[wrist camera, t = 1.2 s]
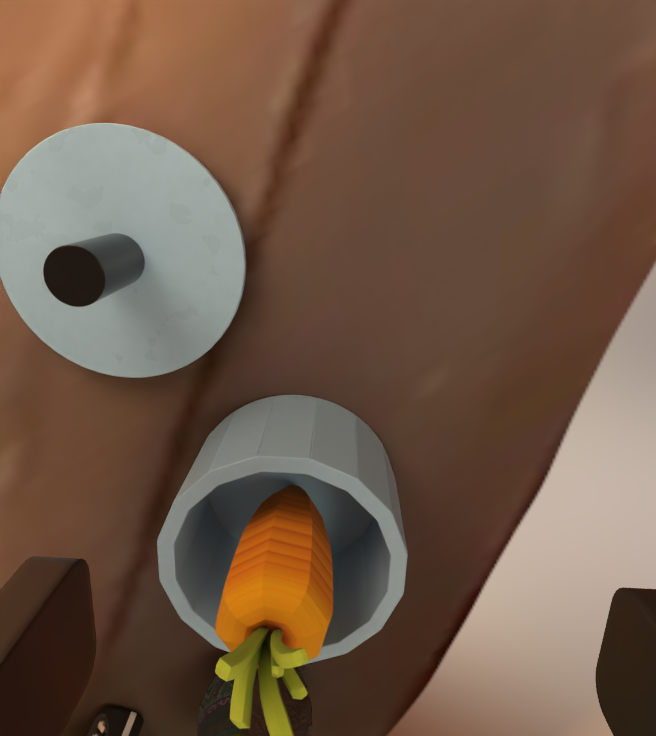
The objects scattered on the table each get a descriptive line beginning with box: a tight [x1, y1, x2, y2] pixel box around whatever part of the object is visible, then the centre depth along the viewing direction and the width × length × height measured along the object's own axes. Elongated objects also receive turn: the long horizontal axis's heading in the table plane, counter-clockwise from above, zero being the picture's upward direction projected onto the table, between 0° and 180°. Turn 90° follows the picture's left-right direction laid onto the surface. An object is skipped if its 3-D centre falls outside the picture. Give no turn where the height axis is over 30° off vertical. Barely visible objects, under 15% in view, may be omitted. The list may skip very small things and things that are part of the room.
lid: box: [0, 123, 246, 378], centre depth 26 cm, size 13×13×6 cm
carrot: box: [215, 485, 333, 736], centre depth 26 cm, size 5×5×15 cm
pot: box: [157, 395, 408, 665], centre depth 30 cm, size 12×12×7 cm
